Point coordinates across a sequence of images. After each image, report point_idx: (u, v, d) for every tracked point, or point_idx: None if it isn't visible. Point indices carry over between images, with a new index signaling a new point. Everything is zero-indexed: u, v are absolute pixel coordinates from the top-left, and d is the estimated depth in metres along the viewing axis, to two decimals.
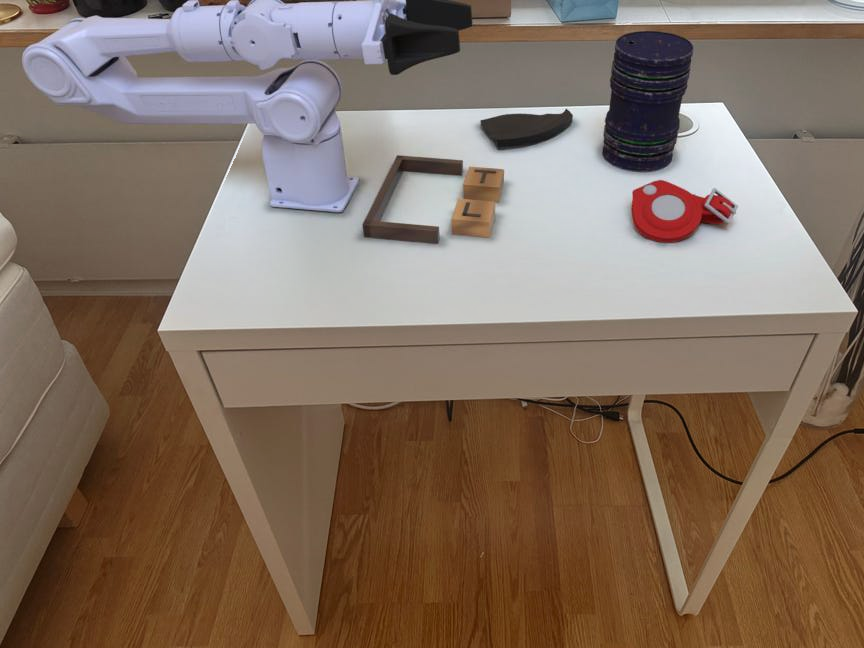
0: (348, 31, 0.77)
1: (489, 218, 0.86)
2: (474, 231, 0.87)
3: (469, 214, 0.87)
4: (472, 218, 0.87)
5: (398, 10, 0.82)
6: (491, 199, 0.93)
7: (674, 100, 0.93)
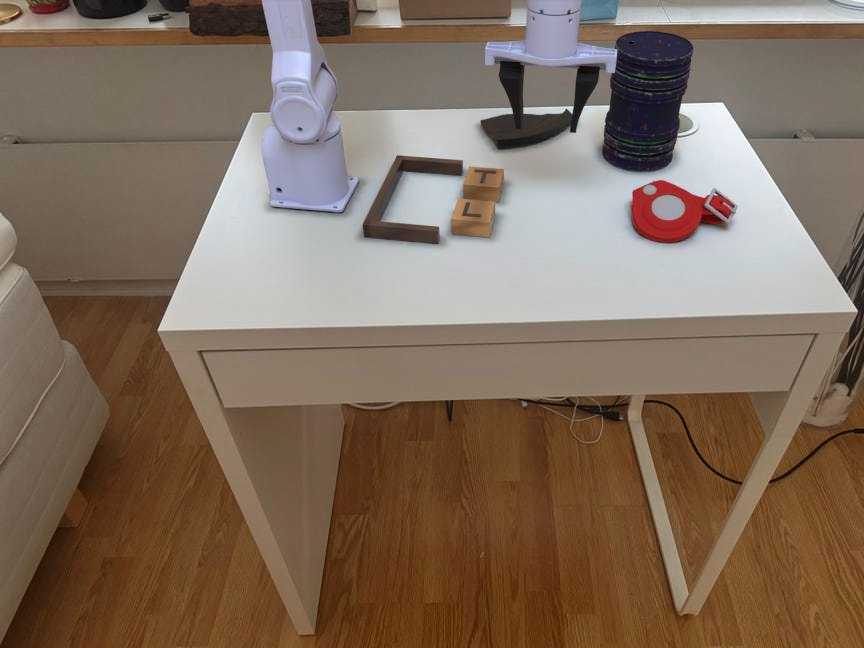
0: None
1: (489, 218, 0.86)
2: (474, 231, 0.87)
3: (469, 214, 0.87)
4: (472, 218, 0.87)
5: None
6: (491, 199, 0.93)
7: (674, 100, 0.93)
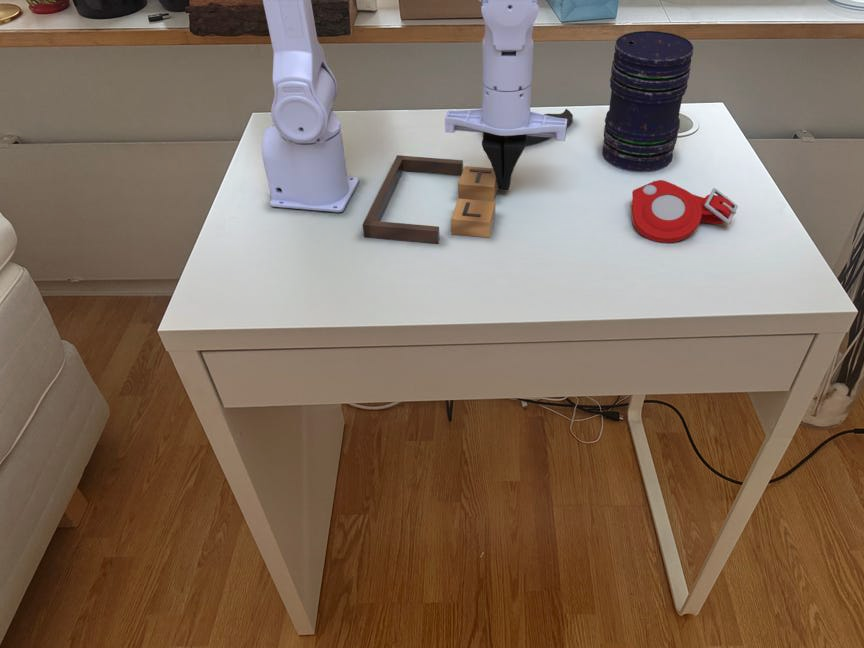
0: None
1: (489, 218, 0.86)
2: (474, 231, 0.87)
3: (469, 214, 0.87)
4: (472, 218, 0.87)
5: None
6: (486, 199, 0.93)
7: (674, 100, 0.93)
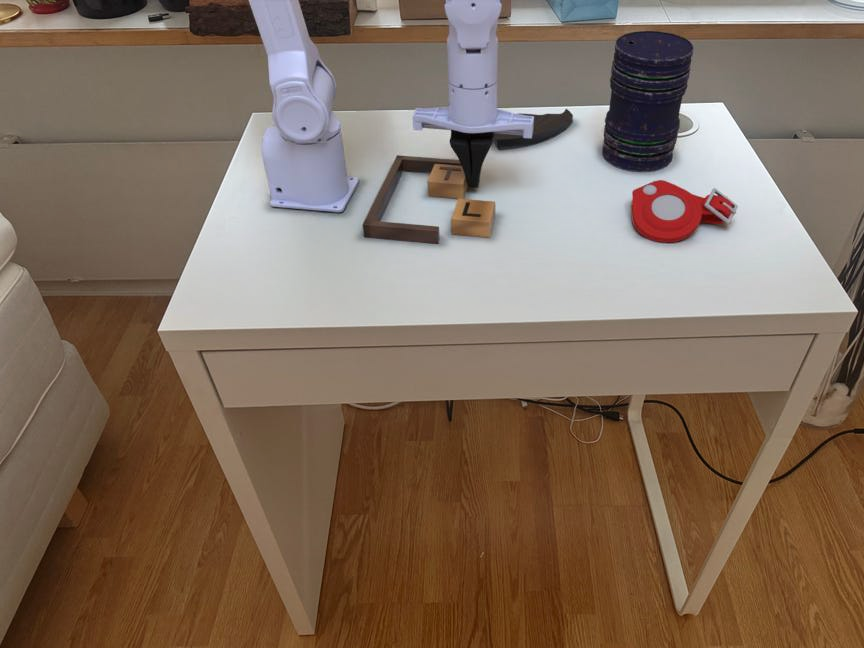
0: None
1: (489, 218, 0.86)
2: (474, 231, 0.87)
3: (469, 214, 0.87)
4: (472, 218, 0.87)
5: None
6: (456, 196, 0.94)
7: (674, 100, 0.93)
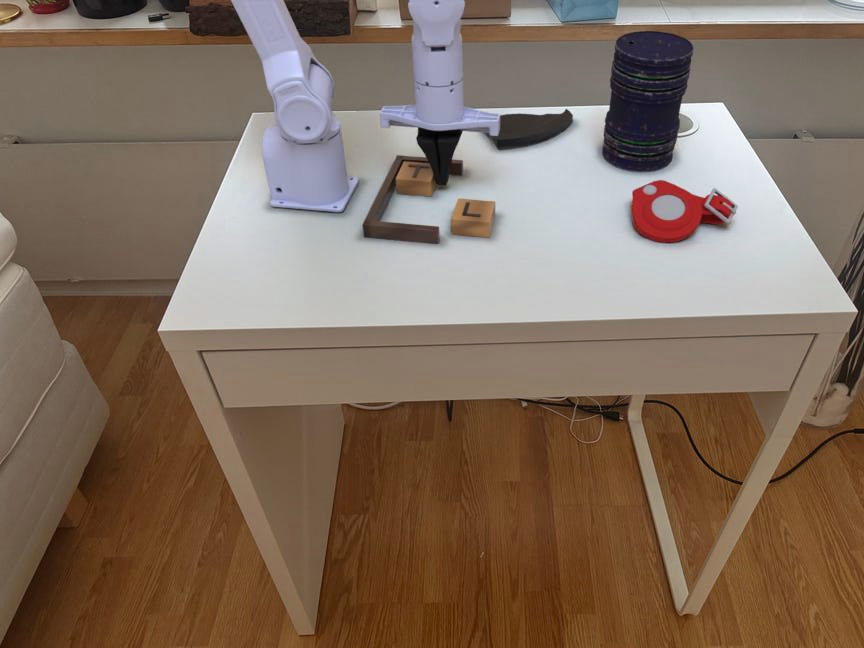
0: None
1: (489, 218, 0.86)
2: (474, 231, 0.87)
3: (469, 214, 0.87)
4: (472, 218, 0.87)
5: None
6: (424, 193, 0.94)
7: (674, 100, 0.93)
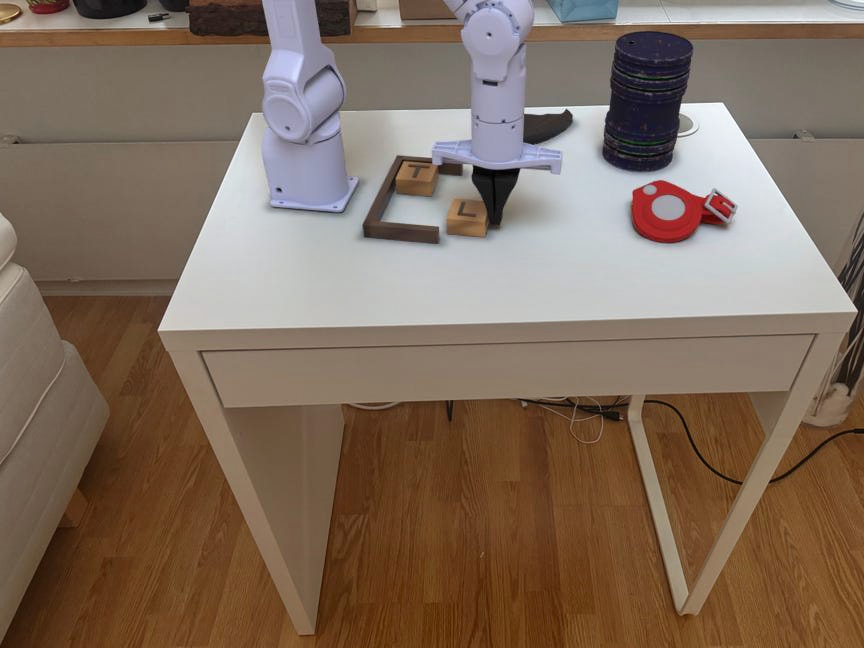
0: None
1: (484, 218, 0.87)
2: (469, 231, 0.87)
3: (464, 214, 0.87)
4: (467, 217, 0.87)
5: None
6: (424, 193, 0.94)
7: (674, 100, 0.93)
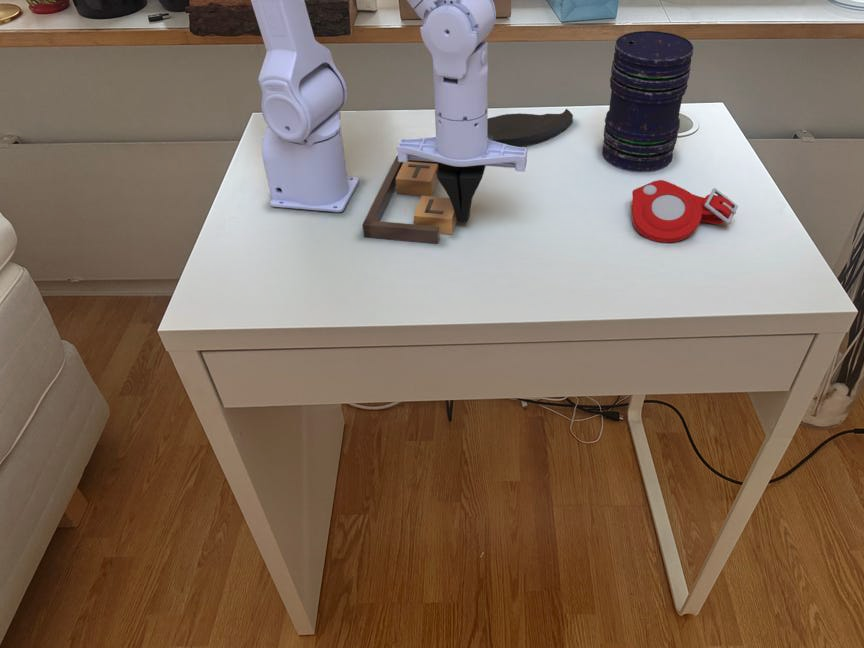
0: (487, 122, 0.81)
1: (451, 215, 0.87)
2: None
3: (432, 211, 0.87)
4: (434, 214, 0.87)
5: None
6: (424, 193, 0.94)
7: (674, 100, 0.93)
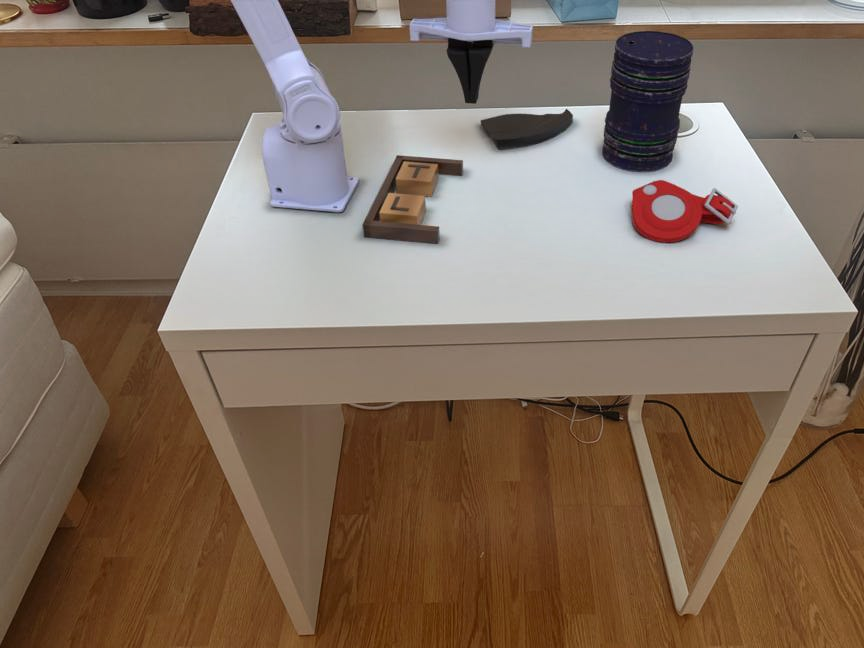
0: None
1: (417, 212, 0.87)
2: None
3: (397, 208, 0.88)
4: (400, 212, 0.88)
5: None
6: (424, 194, 0.94)
7: (674, 100, 0.93)
